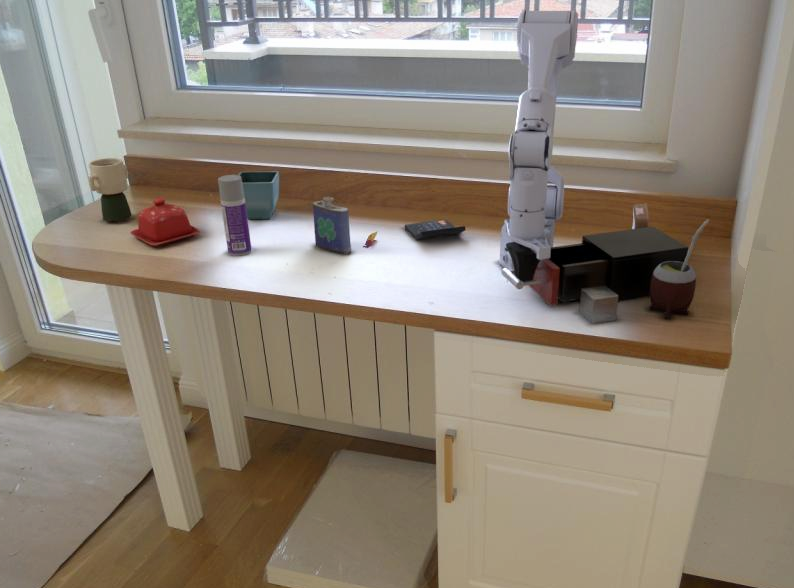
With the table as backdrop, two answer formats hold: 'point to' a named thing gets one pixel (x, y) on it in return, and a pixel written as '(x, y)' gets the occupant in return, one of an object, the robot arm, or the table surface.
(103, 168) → the character mug
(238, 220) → the container
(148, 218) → the butter dish
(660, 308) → the mate gourd
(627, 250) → the black storage chest
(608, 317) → the steel block
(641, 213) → the tin
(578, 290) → the drawer
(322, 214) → the flask
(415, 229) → the calculator
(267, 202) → the flower pot
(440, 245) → the table surface
